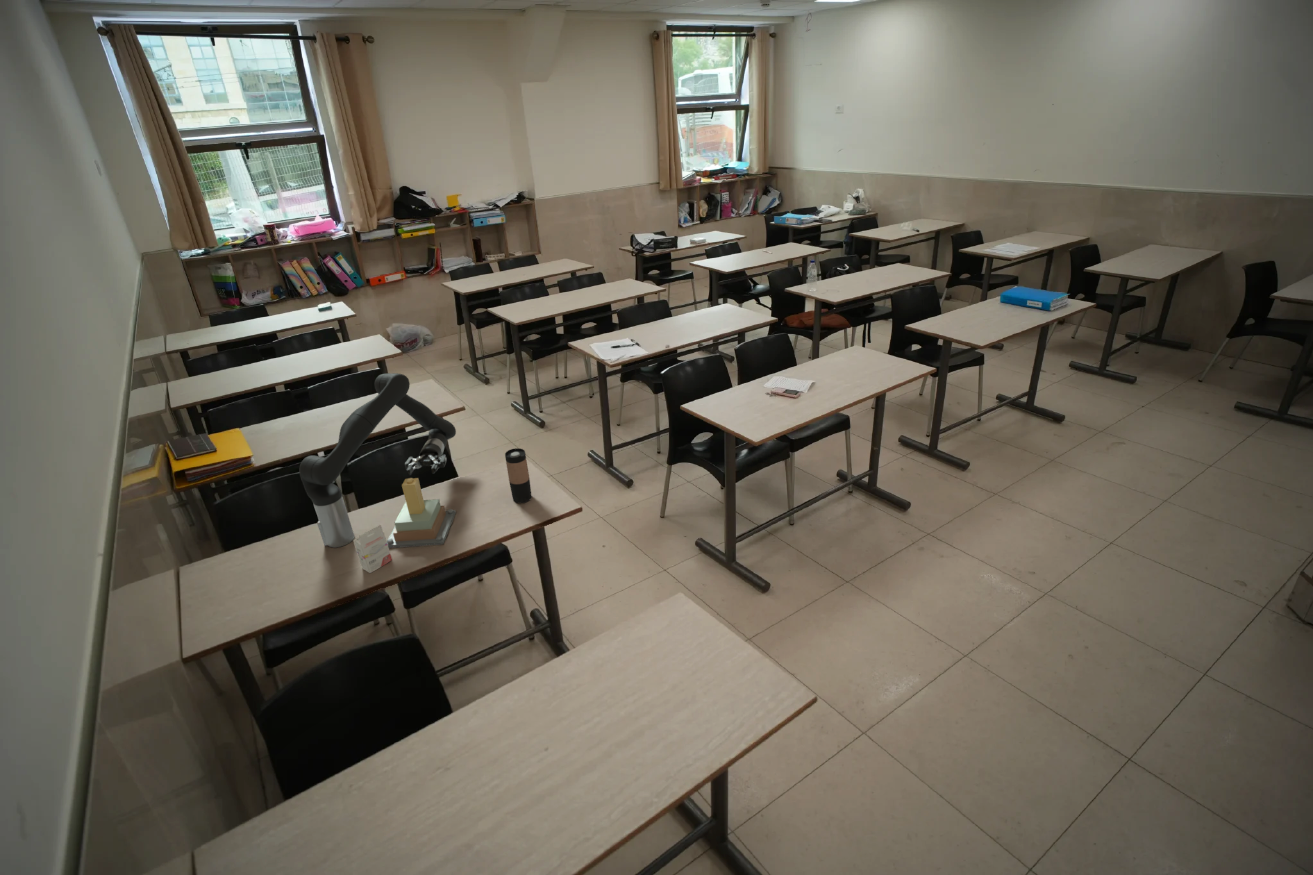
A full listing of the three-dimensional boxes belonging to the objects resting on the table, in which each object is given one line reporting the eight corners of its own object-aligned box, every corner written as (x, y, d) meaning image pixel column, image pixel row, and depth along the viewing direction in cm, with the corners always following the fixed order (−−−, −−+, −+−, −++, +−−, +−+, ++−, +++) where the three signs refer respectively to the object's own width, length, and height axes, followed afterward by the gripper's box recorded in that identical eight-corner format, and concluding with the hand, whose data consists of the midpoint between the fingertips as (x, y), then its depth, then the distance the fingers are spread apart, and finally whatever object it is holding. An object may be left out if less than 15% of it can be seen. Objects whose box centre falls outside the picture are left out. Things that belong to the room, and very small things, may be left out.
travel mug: (510, 496, 255) (502, 451, 246) (529, 491, 257) (522, 446, 248) (515, 505, 248) (507, 459, 239) (534, 500, 251) (527, 454, 242)
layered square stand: (385, 548, 228) (379, 528, 224) (402, 516, 245) (397, 497, 242) (443, 544, 228) (438, 524, 224) (455, 512, 246) (451, 494, 242)
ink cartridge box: (384, 555, 224) (373, 519, 217) (392, 560, 221) (382, 524, 215) (361, 568, 218) (349, 532, 211) (369, 573, 215) (358, 537, 209)
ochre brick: (409, 514, 231) (401, 483, 225) (412, 507, 235) (405, 476, 229) (421, 513, 231) (414, 482, 225) (425, 506, 235) (417, 476, 229)
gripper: (411, 443, 252) (399, 464, 238) (448, 441, 253) (438, 461, 238) (415, 461, 256) (403, 482, 241) (452, 458, 256) (442, 479, 242)
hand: (421, 471), depth 240 cm, fingers open, 8 cm apart
